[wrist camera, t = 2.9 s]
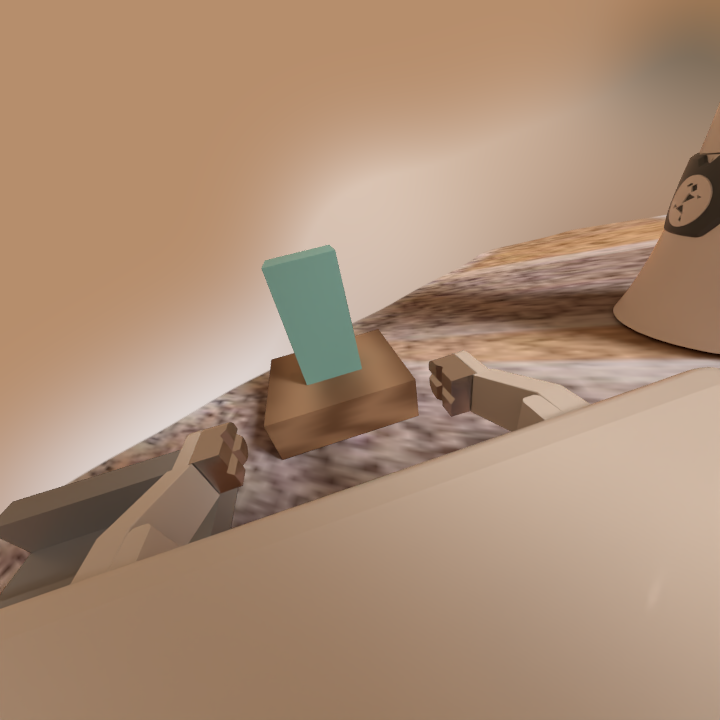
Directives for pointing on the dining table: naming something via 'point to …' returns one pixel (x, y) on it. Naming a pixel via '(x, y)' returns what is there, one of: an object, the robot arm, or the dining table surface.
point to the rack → (84, 524)
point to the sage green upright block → (314, 312)
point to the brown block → (338, 399)
